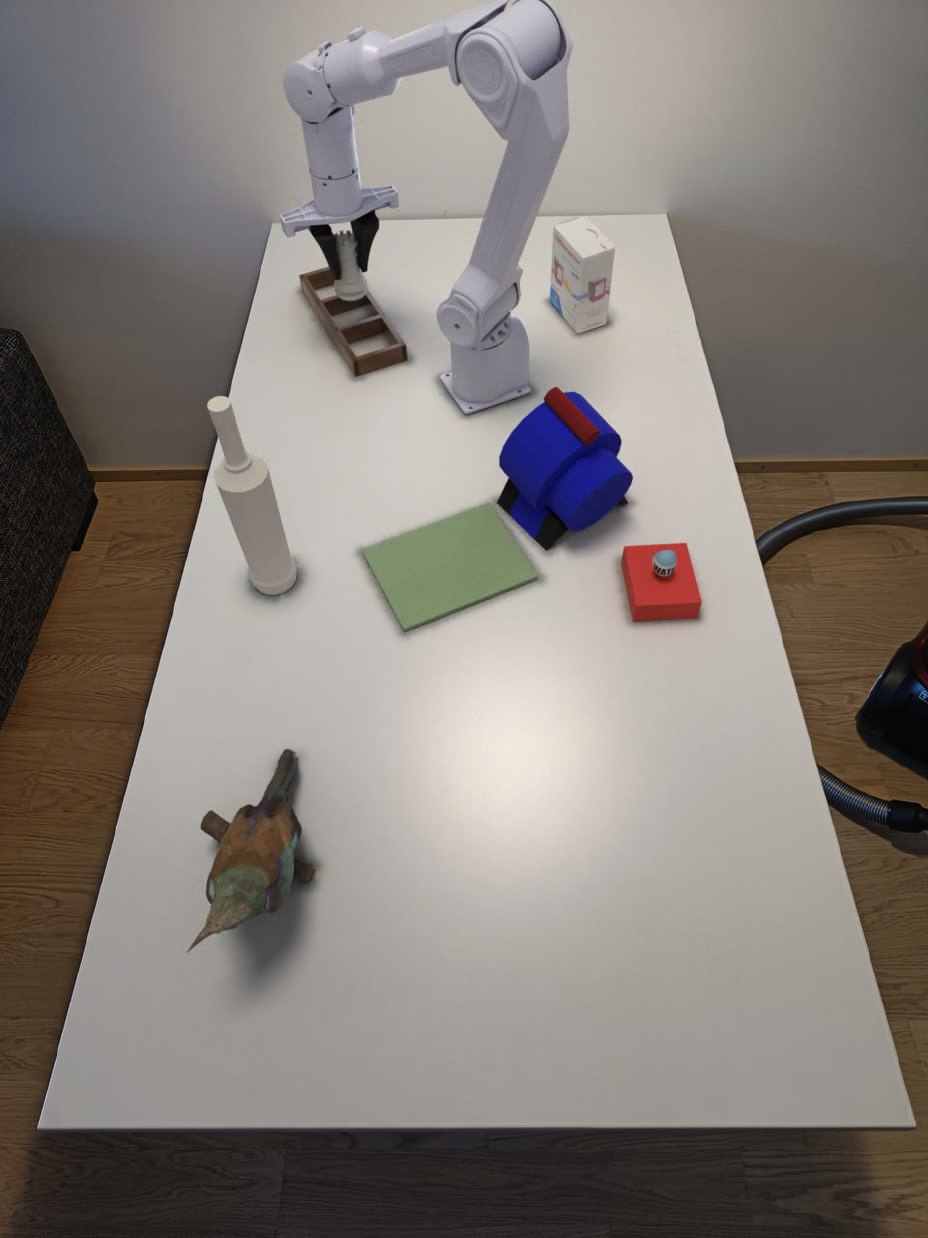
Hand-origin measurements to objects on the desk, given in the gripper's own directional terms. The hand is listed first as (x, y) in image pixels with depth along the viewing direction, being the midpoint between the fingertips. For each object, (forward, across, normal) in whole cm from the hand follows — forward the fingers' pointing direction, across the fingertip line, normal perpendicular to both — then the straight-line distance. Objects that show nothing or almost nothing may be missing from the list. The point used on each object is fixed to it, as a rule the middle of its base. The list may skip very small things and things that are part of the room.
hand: (349, 271), depth 113 cm
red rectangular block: (+10, -14, +55) cm, 58 cm away
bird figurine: (+10, +35, +66) cm, 75 cm away
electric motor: (+10, -10, +40) cm, 43 cm away
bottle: (+10, +24, +35) cm, 44 cm away
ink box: (+10, -29, +9) cm, 32 cm away
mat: (+10, +6, +42) cm, 44 cm away
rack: (+10, 0, -3) cm, 10 cm away
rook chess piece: (+3, 0, 0) cm, 3 cm away
